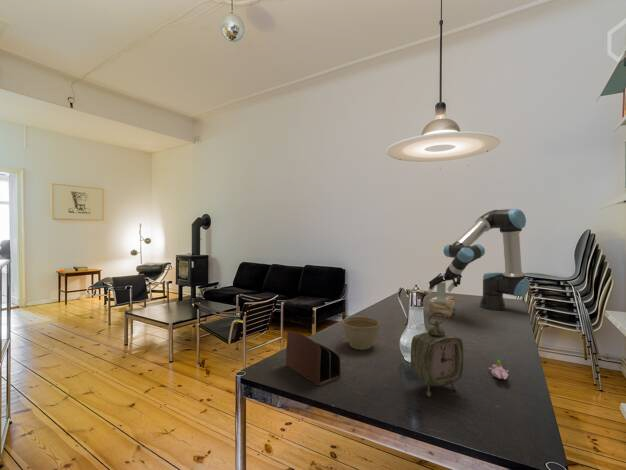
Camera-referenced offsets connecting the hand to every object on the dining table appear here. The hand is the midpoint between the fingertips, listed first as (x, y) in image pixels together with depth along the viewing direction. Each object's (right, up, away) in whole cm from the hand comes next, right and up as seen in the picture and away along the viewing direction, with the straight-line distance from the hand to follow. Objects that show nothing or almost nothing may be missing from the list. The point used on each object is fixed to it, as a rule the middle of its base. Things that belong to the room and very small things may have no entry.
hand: (439, 290), depth 197 cm
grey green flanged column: (0, -8, -2) cm, 9 cm away
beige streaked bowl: (0, -14, -2) cm, 14 cm away
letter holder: (-78, -15, -83) cm, 115 cm away
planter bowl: (-57, -15, -57) cm, 82 cm away
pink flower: (-13, -16, -86) cm, 88 cm away
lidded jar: (+8, -14, +10) cm, 19 cm away
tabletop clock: (-39, -15, -95) cm, 103 cm away
